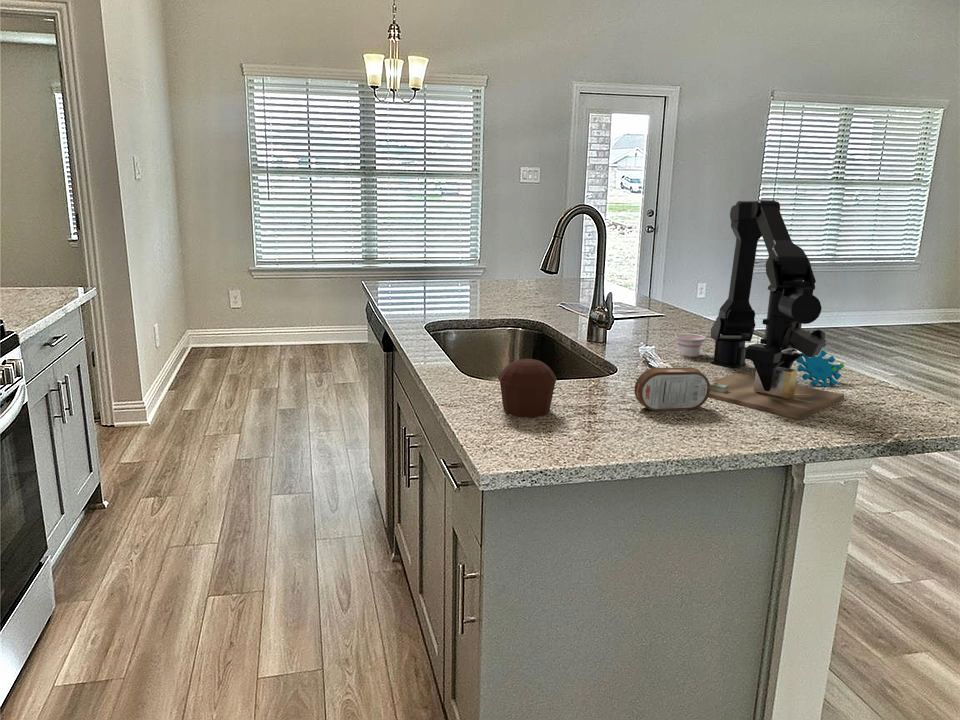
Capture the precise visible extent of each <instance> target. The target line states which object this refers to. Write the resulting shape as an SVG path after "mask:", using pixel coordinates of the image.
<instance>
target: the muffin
mask: <svg viewBox="0 0 960 720" xmlns="http://www.w3.org/2000/svg"><path fill="white" fill-rule="evenodd" d="M555 374H556V373H555V372H554V371H553V370H552V368H550V366H548V364H546V363H544V362H543V361H541V360H538V359H534V358H522V359H517V360H514V361H512V362H511V363H509V364H507V365H506V366H505V367H504V368H503V369H502V371H501V372H500V373H499V375H498V376H497V380H498V381H499V385H500V393H501V400H502V408H503V410H504V411H505V412H506V414H507V415H510V414H511V415H510V416H514V417H518V418H533V419H535V418H539V417H544V416H546V415H547V414H548V413H549V412H550V411H551V406H552V400H553V396H554V391H555V385H556V382H557V380H558V378H557V377H556V375H555Z"/></svg>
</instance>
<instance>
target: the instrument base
mask: <svg viewBox="0 0 960 720" xmlns="http://www.w3.org/2000/svg"><path fill="white" fill-rule="evenodd" d="M709 383H710V392H709V396H708V398H711V399H715V400H719V401H723V402H726V403H730V404H735V405H739V406H741V407H747V408H750V409H754V410H758V411H762V412H765V413H770V414H774V415H778V416H782V417H786V418H791V419H794V420H798V421H801V420H804V419H806V418H807V417H810V416H812V415H814V414H816V413H817V412H819V411H821V410H823V409H825V408H827V407H829V406H831V405H833V404H835V403H837V402H839V401H841V400H843V399H844V397H845V394H843V393H839V392H834V391H828V390H824V389H818V388H813V387H810V386H809V387H808V386H803V385H799V384H796V385H795V393H794V396H793V397H790V398H788V399H787V398H783V397H779V396H775V395H770V394H766V393H761V392H757V391H754V383H755V375H750V374H745V373H741V372H735V373H732V374H729V375H726V376H723V377H720V378H716V379H714V380H711V381H709ZM842 398H843V399H842Z"/></svg>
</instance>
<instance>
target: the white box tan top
mask: <svg viewBox="0 0 960 720" xmlns="http://www.w3.org/2000/svg"><path fill="white" fill-rule="evenodd" d="M754 376H755V383H754V391H757V392H761V393H766V394H770V395H775V396H779V397H783V398H787V399H788V398H790V397H793V396H794V393H795V385H797V376H798V371H797V368H796V369H794V368H790V369H789V368H783V367H777V368H776V371H775V375H774V379H773V383H772V386H771V389H770V391H765V390H764V388H763V386H762V383H761V380H760V378H759V375H758V373H757V370H756V369H755V375H754Z"/></svg>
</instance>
